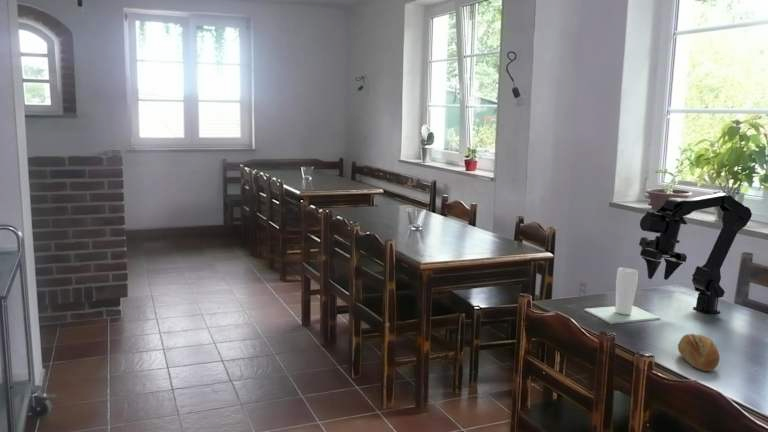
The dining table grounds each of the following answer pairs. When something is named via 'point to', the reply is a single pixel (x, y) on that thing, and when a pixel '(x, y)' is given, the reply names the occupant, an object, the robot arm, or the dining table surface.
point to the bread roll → (699, 351)
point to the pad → (621, 315)
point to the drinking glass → (625, 289)
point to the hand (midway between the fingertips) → (657, 279)
